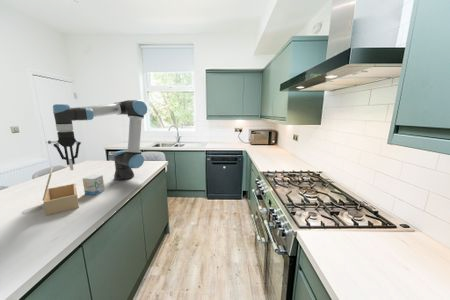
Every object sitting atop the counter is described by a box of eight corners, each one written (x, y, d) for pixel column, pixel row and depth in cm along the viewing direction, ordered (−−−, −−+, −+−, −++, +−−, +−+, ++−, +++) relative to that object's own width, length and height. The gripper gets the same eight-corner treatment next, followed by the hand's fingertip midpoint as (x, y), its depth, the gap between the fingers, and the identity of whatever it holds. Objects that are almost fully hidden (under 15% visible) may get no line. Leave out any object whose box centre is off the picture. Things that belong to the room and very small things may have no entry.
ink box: (94, 195, 129) (92, 179, 126) (84, 194, 130) (81, 178, 128) (105, 190, 137) (102, 174, 134) (95, 189, 138) (92, 174, 136)
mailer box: (77, 194, 130) (75, 183, 128) (78, 207, 113) (76, 194, 111) (49, 200, 121) (46, 188, 120) (46, 215, 104) (43, 202, 102)
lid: (53, 166, 119) (51, 166, 119) (51, 175, 103) (49, 175, 102) (47, 187, 119) (45, 187, 119) (43, 200, 103) (42, 200, 102)
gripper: (78, 130, 119) (84, 166, 124) (50, 131, 111) (58, 170, 116) (79, 131, 113) (85, 169, 118) (50, 132, 105) (57, 173, 110)
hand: (71, 169), depth 117 cm, fingers closed
